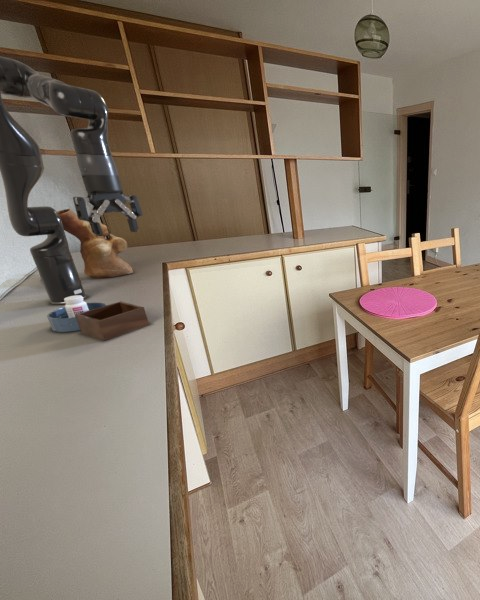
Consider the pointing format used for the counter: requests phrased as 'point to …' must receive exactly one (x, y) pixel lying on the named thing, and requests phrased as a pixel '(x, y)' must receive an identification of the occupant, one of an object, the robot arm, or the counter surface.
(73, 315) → the pill bottle
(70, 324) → the bowl
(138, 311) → the box
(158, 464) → the counter surface
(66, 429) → the counter surface
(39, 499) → the counter surface
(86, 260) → the tan lumpy upright piece
